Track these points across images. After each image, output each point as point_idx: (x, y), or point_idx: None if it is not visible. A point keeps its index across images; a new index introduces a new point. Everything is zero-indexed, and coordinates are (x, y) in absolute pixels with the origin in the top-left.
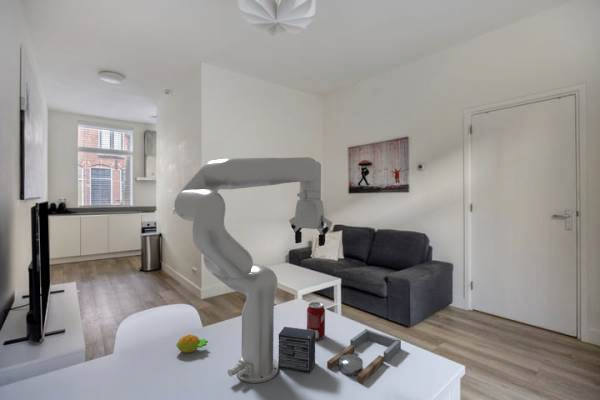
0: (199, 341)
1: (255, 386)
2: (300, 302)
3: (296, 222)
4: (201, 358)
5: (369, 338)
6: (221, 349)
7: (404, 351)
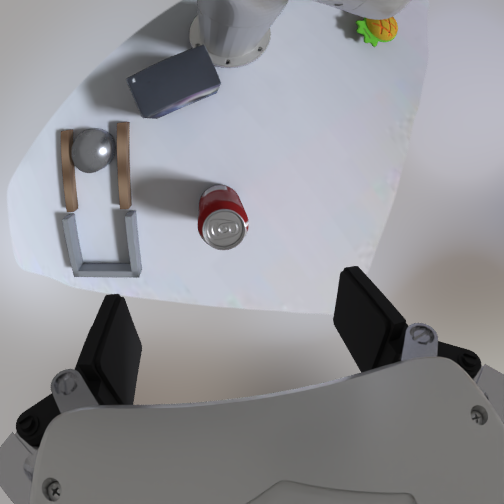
0: (371, 30)
1: None
2: None
3: (461, 398)
4: (339, 18)
5: (129, 264)
6: (338, 52)
7: None
